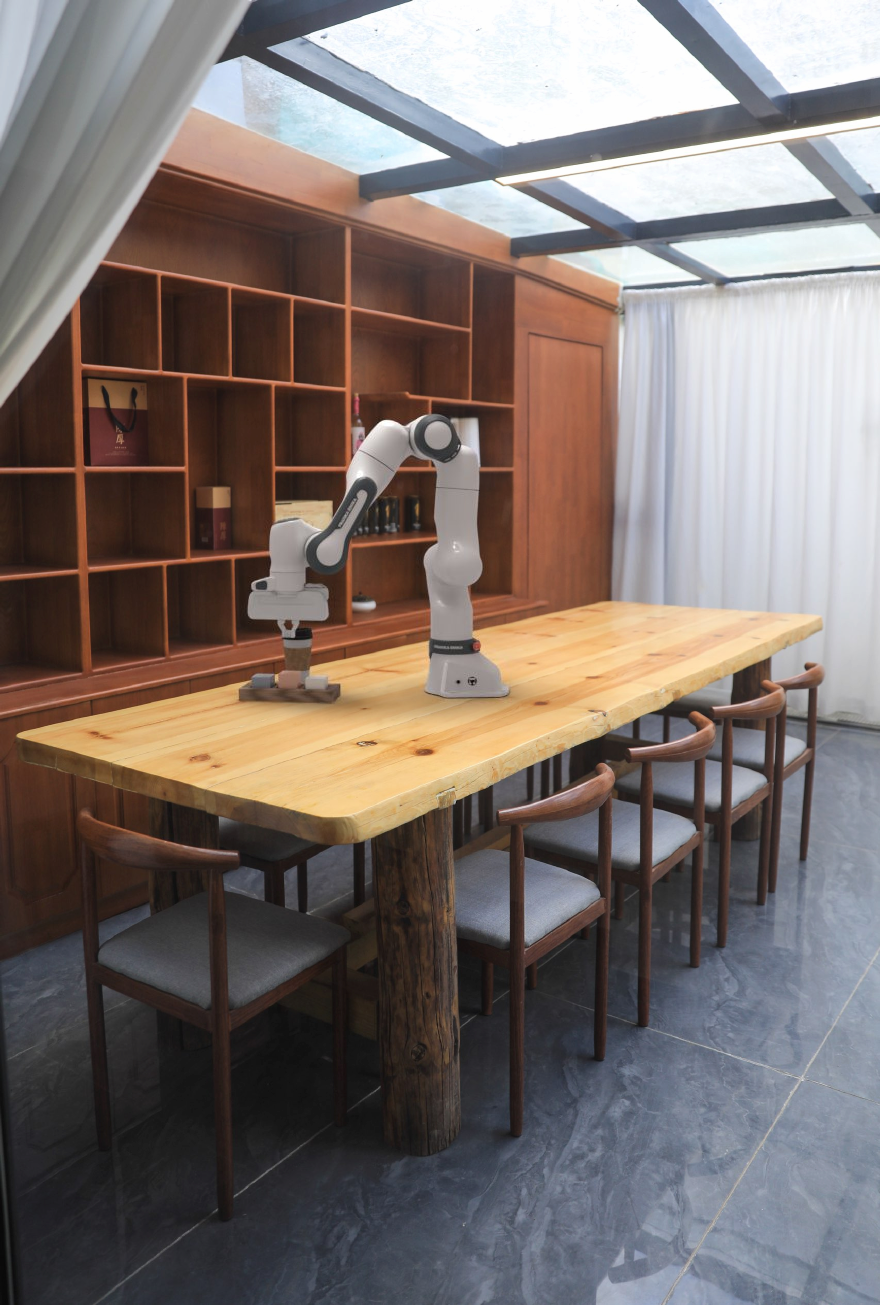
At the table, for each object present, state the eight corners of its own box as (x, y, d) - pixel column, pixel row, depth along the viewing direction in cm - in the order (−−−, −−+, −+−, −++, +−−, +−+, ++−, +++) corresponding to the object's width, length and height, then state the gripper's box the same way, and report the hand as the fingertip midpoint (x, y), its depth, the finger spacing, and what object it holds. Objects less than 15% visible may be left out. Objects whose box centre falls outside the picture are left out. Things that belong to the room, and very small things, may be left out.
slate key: (275, 689, 263) (274, 674, 262) (270, 693, 258) (269, 677, 258) (257, 688, 264) (256, 673, 263) (251, 692, 259) (251, 677, 258)
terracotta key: (301, 686, 262) (301, 670, 262) (297, 689, 257) (296, 674, 257) (283, 685, 263) (283, 670, 262) (278, 689, 258) (278, 673, 257)
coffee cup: (307, 685, 276) (306, 631, 273) (278, 684, 277) (277, 630, 275) (317, 680, 284) (316, 626, 281) (288, 678, 285) (287, 625, 283)
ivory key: (328, 690, 262) (328, 675, 261) (324, 694, 257) (324, 679, 256) (310, 690, 262) (309, 675, 261) (305, 694, 257) (305, 678, 257)
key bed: (340, 694, 264) (340, 683, 264) (332, 703, 254) (332, 691, 254) (250, 692, 267) (250, 681, 266) (238, 700, 257) (238, 688, 256)
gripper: (331, 582, 258) (331, 636, 260) (252, 580, 260) (253, 634, 262) (325, 585, 251) (326, 640, 254) (245, 583, 254) (246, 638, 256)
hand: (288, 637), depth 258 cm, fingers closed
